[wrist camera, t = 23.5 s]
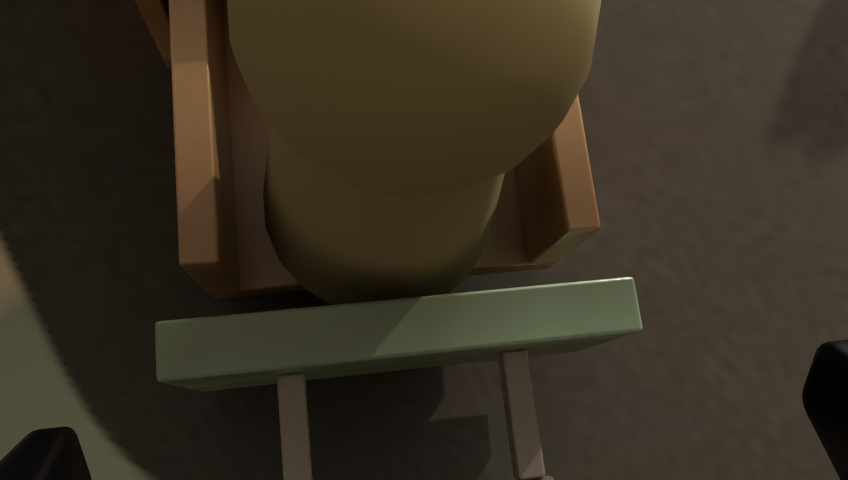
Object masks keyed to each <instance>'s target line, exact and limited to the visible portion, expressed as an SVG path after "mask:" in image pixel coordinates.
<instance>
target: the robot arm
mask: <svg viewBox="0 0 848 480" xmlns="http://www.w3.org/2000/svg"><path fill="white" fill-rule="evenodd" d="M802 398H803V404H804V408H805V411H806V413H807V415H808V417H809V419H810V421H811V423H812V425H813V427H814V429H815V431H816V433H817V435H818V437H819V438H820V440H821V442H822V444H823V446H824V448H825V450H826V452H827V454H828V456H829V458H830V460H831V462H832V464H833V466H834V468H835V470H836V472H837V474H838V476H839V478H840V480H848V340H842V341H833V342H826V343H823V344H822V345H821V346H820V347H819V348H818V349H817V351H816V353H815V356H814V359H813V362H812V365H811V367H810V370H809V373H808V376H807V379H806V382H805V385H804V388H803V393H802ZM0 480H91V476H90V473H89V470H88V467H87V464H86V461H85V458H84V455H83V452H82V449H81V446H80V443H79V440H78V437H77V434H76V433H75V431H74V430H73V429H71V428H69V427H58V428H48V429H39V430H35V431H32V432H31V433H29V434H28V435H27V436H25V437H24V438H23V439H22V441H20V442H19V443H18V444H17V445H16V446H15V447H14V448H13V449H12V450H11V451H10V452H9V453H8V454H7V455H6V456H5V457H4V458H3V459H2V460H1V461H0Z"/></svg>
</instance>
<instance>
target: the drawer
mask: <svg viewBox="0 0 848 480" xmlns="http://www.w3.org/2000/svg"><path fill="white" fill-rule="evenodd" d="M169 21H170V46H171V72H172V97H173V122H174V147H175V173H176V198H177V223H178V249H179V264H180V266H181V267H182V268H183V269H184V270H185V271H186V272H187V273H188V274H189V275H190V276H191V277H192V278H193V279H194V280H195V281H196V282H197V283H198V284H199V285H200V286H201V287H202V288H203V289H204V290H205V291H206V292H207V293H209V294H210V295H211V296H212V297H213V298H227V297H238V296H249V295H260V294H271V293H282V292H293V291H304V290H306V289H304V288H303V287H302V286H301V284H300V283H299V282H298V281H297V280H296V279H295V278H294V277H293V275H292V274H291V273H290V272H289V271H288V270H287V269H286V268H285V267H284V265H283V264H282V263H281V262H280V261H279V258H278V256H277V254H276V251H275V249H274V247H273V244H272V242H271V240H270V237H269V235H268V233H267V230H266V228H265V214H264V200H263V188H264V179H265V171H266V162H267V153H268V145H269V136H270V127H271V125H270V124H269V123H268V122H267V121H266V120H265V119H264V118H263V117H262V115H261V114H260V113H259V112H258V111H257V108H256V106H255V104H254V101H253V99H252V97H251V95H250V92H249V90H248V88H247V85H246V83H245V81H244V79H243V76H242V74H241V72H240V69H239V67H238V65H237V63H236V60H235V57H234V53H233V50H232V47H231V44H230V39H229V23H228V8H227V0H169ZM600 227H601V226H600V221H599V215H598V209H597V203H596V197H595V191H594V185H593V180H592V174H591V168H590V162H589V156H588V150H587V145H586V139H585V133H584V127H583V121H582V115H581V109H580V104H579V98H578V95H577V97H576V98H575V100H574V102H573V104H572V106H571V107H570V109H569V111H568V113H567V115H566V117H565V118H564V120H563V121H562V122H561V124H560V125H559V126H558V127H557V129H556V130H555V131H554V133H553V134H552V135H551V136H550V137H549V138H548V139H546V140H545V141H544V142H543V143H542V144H541V145H540V146H538V147H537V148H536V149H535V150H534V151H533V152H532V153H530V154H529V155H528V156H527V157H526V158H525V159H524V160H523V161H521V162H520V163H519V164H518V165H517V166H516V167H515V168H513V169H512V170H510V171H507V172H505V175H504V179H503V183H502V187H501V191H500V195H499V199H498V203H497V207H496V211H495V214H494V218H493V222H492V226H491V230H490V234H489V238H488V242H487V244H486V246H485V248H484V249H483V251H482V253H481V255H480V257H479V258H478V260H477V262H476V264H475V266H474V267H473V269H472V271H471V273H470V274H469V275H479V274H490V273H501V272H512V271H523V270H534V269H545V268H548V267H550V266H551V265H553V264H554V263H555V262H556V261H558V260H559V259H561V258H562V257H563V256H565V255H566V254H567V253H569V252H570V251H571V250H573V249H574V248H575V247H577V246H578V245H580V244H581V243H582V242H584V241H585V240H586V239H588V238H589V237H590V236H592V235H593V234H594V233H596V232H597V231H598V230H600ZM467 276H468V275H467ZM640 331H642V322H641V317H640V311H639V306H638V300H637V294H636V289H635V283H634V279H633V278H632V277H622V278H612V279H601V280H591V281H580V282H569V283H559V284H548V285H537V286H527V287H516V288H506V289H495V290H484V291H474V292H463V293H453V294H442V295H431V296H421V297H410V298H400V299H389V300H378V301H368V302H357V303H346V304H336V305H325V306H315V307H304V308H293V309H283V310H272V311H262V312H251V313H240V314H230V315H219V316H209V317H198V318H187V319H177V320H166V321H159V322H157V323H156V324H155V351H156V378H157V380H158V381H159V382H163V383H167V384H171V385H175V386H179V387H183V388H188V389H192V390H196V391H200V392H203V391H212V390H221V389H231V388H240V387H249V386H259V385H268V384H277V390H278V405H279V420H280V435H281V450H282V465H283V480H313V469H312V455H311V442H310V429H309V416H308V403H307V389H306V380H315V379H324V378H333V377H343V376H352V375H361V374H371V373H380V372H389V371H399V370H408V369H417V368H427V367H436V366H445V365H455V364H464V363H473V362H483V361H492V360H498V362H499V369H500V377H501V384H502V392H503V399H504V407H505V414H506V422H507V429H508V437H509V444H510V452H511V459H512V467H513V474H514V477H515V478H517V480H554V479H553V478H552V477H550V476H545V469H544V462H543V455H542V448H541V441H540V434H539V427H538V420H537V413H536V406H535V399H534V392H533V385H532V378H531V371H530V364H529V356H539V355H548V354H557V353H567V352H576V351H579V350H582V349H586V348H589V347H592V346H595V345H599V344H602V343H605V342H608V341H612V340H615V339H618V338H621V337H625V336H628V335H631V334H635V333H638V332H640Z"/></svg>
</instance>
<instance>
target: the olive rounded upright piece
mask: <svg viewBox="0 0 848 480" xmlns="http://www.w3.org/2000/svg"><path fill="white" fill-rule="evenodd" d="M600 5H601V0H227V8H228V23H229V39H230V44H231V47H232V50H233V53H234V57H235V60H236V63H237V65H238V67H239V69H240V72H241V74H242V76H243V79H244V81H245V83H246V85H247V88H248V90H249V92H250V95H251V97H252V99H253V101H254V104H255V106H256V108H257V111H258V112H259V113H260V114H261V115H262V117H263V118H264V119H265V120H266V121H267V122H268V123H269V124H270V125H271V127H270V136H269V145H268V153H267V162H266V171H265V179H264V188H263V200H264V214H265V228H266V230H267V233H268V235H269V237H270V240H271V242H272V244H273V247H274V249H275V251H276V254H277V256H278V258H279V261H280V262H281V263H282V264H283V265H284V267H285V268H286V269H287V270H288V271H289V272H290V273H291V274H292V275H293V277H294V278H295V279H296V280H297V281H298V282H299V283H300V284H301V286H302V287H303V288H304V289H306V290H307V291H309V292H311V293H313V294H314V295H316V296H318V297H320V298H321V299H323V300H325V301H326V302H328V303H330V304H332V305H336V304H346V303H357V302H368V301H378V300H389V299H400V298H410V297H421V296H431V295H442V294H448V293H449V292H450V291H451V290H452V289H453V288H454V287H455V286H456V285H458V284H459V283H460V282H461V281H462V280H463V279H464V278H465V277H466V276H467V275H469V274H470V273H471V271H472V269H473V267H474V266H475V264H476V262H477V260H478V258H479V257H480V255H481V253H482V251H483V249H484V248H485V246H486V244H487V242H488V238H489V234H490V230H491V226H492V222H493V218H494V214H495V211H496V207H497V203H498V199H499V195H500V191H501V187H502V183H503V179H504V175H505V172H507V171H510V170H512V169H513V168H515V167H516V166H517V165H518V164H519V163H520V162H521V161H523V160H524V159H525V158H526V157H527V156H528V155H529V154H530V153H532V152H533V151H534V150H535V149H536V148H537V147H538V146H540V145H541V144H542V143H543V142H544V141H545V140H546V139H548V138H549V137H550V136H551V135H552V134H553V133H554V131H555V130H556V129H557V127H558V126H559V125H560V124H561V122H562V121H563V120H564V118H565V117H566V115H567V113H568V111H569V109H570V107H571V106H572V104H573V102H574V100H575V98H576V97H577V95H578V93H579V91H580V89H581V88H582V86H583V84H584V82H585V80H586V78H587V77H588V75H589V72H590V67H591V62H592V56H593V51H594V44H595V38H596V31H597V25H598V18H599V12H600Z"/></svg>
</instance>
